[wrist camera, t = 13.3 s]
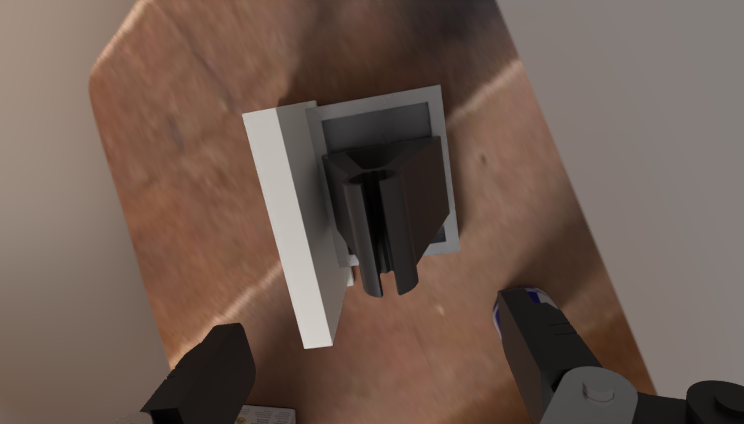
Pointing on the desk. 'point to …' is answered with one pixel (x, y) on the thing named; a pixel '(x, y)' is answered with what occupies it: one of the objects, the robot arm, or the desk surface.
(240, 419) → the coffee box
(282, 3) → the desk surface
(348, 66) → the desk surface
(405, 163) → the phone stand
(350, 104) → the open tray
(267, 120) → the door edge
